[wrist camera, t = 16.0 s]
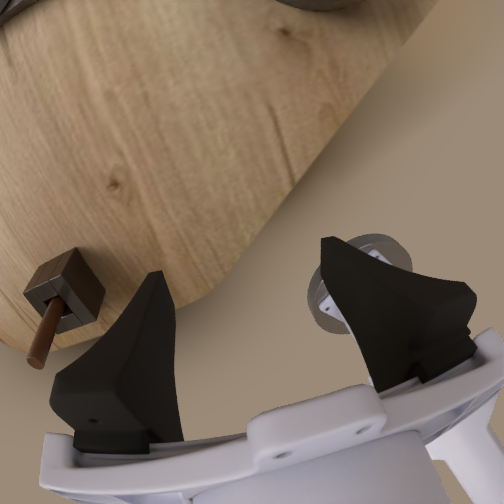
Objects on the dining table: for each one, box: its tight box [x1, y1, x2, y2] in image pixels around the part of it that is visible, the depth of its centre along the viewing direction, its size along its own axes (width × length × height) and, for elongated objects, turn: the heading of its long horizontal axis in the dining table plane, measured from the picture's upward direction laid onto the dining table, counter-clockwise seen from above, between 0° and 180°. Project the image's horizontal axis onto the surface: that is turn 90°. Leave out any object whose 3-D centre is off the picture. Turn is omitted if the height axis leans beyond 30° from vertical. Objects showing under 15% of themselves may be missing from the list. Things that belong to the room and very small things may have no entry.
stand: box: [23, 247, 105, 334], centre depth 21 cm, size 5×5×4 cm
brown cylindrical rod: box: [27, 295, 66, 370], centre depth 19 cm, size 1×1×10 cm
